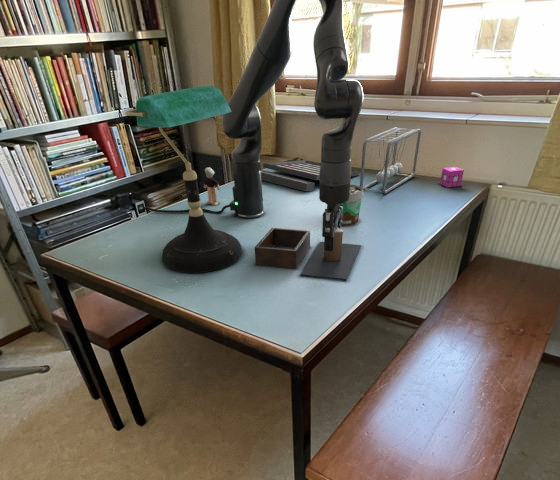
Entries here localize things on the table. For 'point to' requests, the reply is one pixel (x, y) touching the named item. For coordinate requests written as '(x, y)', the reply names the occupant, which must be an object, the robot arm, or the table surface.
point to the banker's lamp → (190, 179)
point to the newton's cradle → (395, 168)
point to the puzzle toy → (451, 177)
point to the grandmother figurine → (211, 186)
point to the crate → (282, 256)
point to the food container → (352, 206)
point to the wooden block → (335, 246)
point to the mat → (331, 263)
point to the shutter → (295, 168)
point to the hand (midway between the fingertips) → (332, 244)
